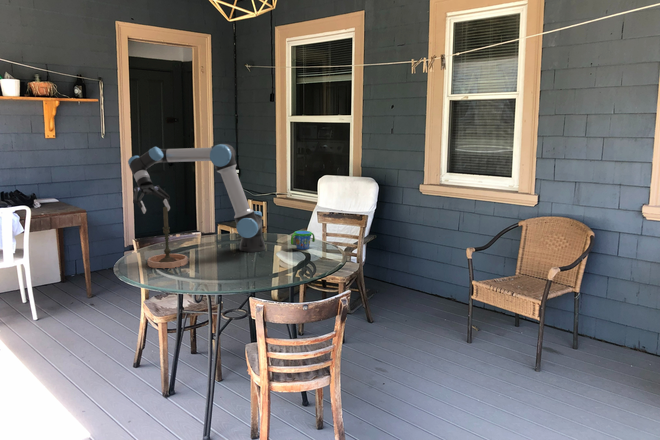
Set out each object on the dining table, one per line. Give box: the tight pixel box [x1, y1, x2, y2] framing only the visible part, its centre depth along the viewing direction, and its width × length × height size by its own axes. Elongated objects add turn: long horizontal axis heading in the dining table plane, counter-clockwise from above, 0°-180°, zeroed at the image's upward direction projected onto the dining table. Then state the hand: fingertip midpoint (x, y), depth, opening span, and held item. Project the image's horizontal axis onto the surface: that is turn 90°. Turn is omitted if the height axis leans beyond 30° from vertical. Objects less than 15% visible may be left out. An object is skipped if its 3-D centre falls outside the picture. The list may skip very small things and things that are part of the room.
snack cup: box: [290, 230, 316, 250], centre depth 316 cm, size 16×10×10 cm
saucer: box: [147, 253, 188, 270], centre depth 279 cm, size 20×20×3 cm
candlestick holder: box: [159, 205, 177, 263], centre depth 276 cm, size 9×9×30 cm
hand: (157, 210), depth 281 cm, fingers open, 13 cm apart
